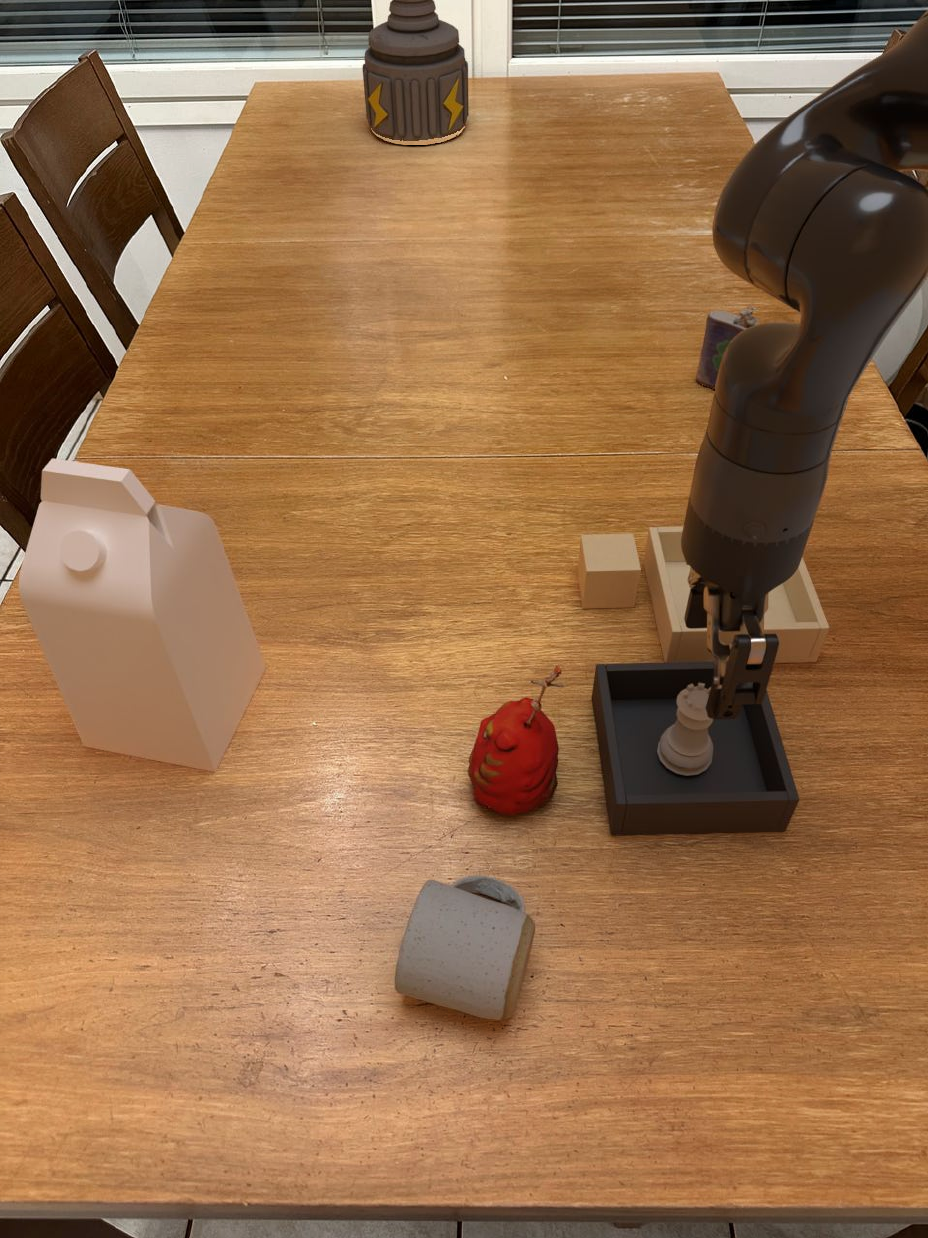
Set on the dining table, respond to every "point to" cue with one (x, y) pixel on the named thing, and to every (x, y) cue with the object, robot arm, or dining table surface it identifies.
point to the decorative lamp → (415, 75)
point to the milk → (138, 617)
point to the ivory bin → (787, 616)
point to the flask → (720, 341)
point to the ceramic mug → (466, 947)
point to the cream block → (608, 571)
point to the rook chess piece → (688, 734)
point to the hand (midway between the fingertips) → (709, 667)
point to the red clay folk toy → (516, 756)
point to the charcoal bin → (673, 803)
